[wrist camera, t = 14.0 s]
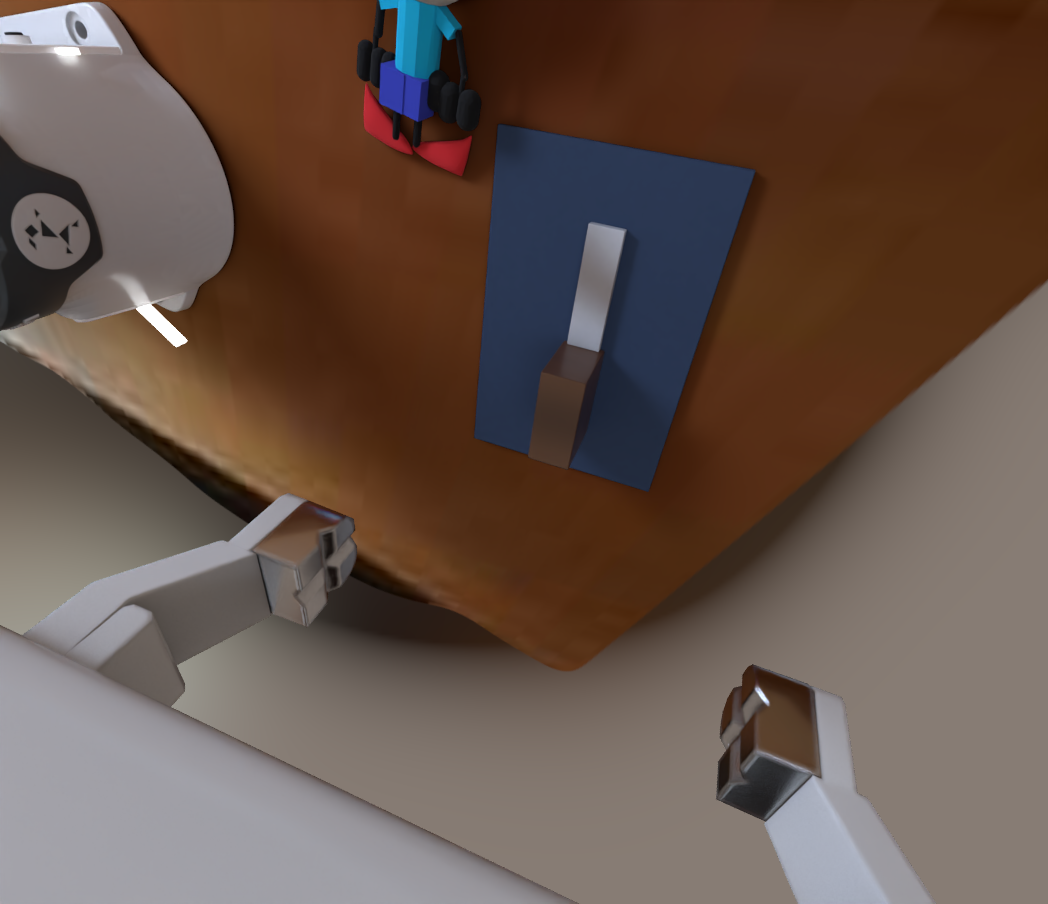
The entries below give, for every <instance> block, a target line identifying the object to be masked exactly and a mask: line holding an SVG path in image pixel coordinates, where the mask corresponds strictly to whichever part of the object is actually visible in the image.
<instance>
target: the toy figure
mask: <svg viewBox="0 0 1048 904" xmlns="http://www.w3.org/2000/svg"><path fill="white" fill-rule="evenodd" d="M456 1H458V0H377V7H376V18H375V27H374V33H373V44H372V43H371V42H370V41H368V40H362V41H361V42H360V43H359V45H358V55H357V74H358V76H359V78H360V79H362V80H363V81H371V83H372V84H373V85H374V86H375V87H377V88H380V97H379V102H378V101H377V99H376V98H375V97H374V95H373V94H372V92H371V90H370V88H369V86H368V84H367V83H366V87H365V98H364V126H365V130H366V131H367V132H368V133H370V134H371V135H372V136H374V137H375V138H377V139H378V140H380V141H382V142H383V143H385V144H387V145H388V146H390V147H391V148H393V149H396V150H398V151H400V152H403V153H406V154H413V151H412V149H413V150H414V151H415V152H416V153H418V154H419V155H420V156H422V157H423V158H424V159H426V160H428V161H429V162H431V163H432V164H434V165H436V166H438V167H441V168H443V169H445V170H447V171H449V172H452V173H454V174H457V175H460V176H462V175H463V172H464V169H465V166H466V163H467V159H468V155H469V151H470V145H471V140H472V135H471V136H469V137H467V138H465V139H462V140H454V141H430V142H420V140H421V129H422V120H424V119H426V118H429V117H432V116H433V114H434V112H438V113H439V116H440V118H441V119H442V120H443V121H444V122H446V123H454V122H456V121H457V124H458V125H459V127H460V128H461V129H463V130H465V131H472V130H473V129H475V128H476V127H477V125H478V122H479V116H480V109H481V99H480V96H479V95H478V93H477V92H475V91H473V90H471V89H468V90H465V91H464V89H465V82H466V81H467V80H468V72H467V65H466V58H465V51H464V44H463V37H462V32H461V31H460V30H461V28H462V27H461V25H460V24H459V23H458V21H457V20H456V19H455V17H454V16H453V14H452V13H451V12H450V10H449V9H448V8H447V6H446V5H449V4H451V3H453V2H456ZM390 8H398V19H397V38H396V55H395V54H394V53H392V52H386V51H385V50H384V49H383V48H379V47H378V40H379V38H381V37H382V35H383V25H384V15H385V9H390ZM443 34H444V35H445V37H446V38H447V39H448V40H452V39H455V38H456V44H457V51H458V58H459V64H460V71H461V78H460V85H459V86H458V85H457V84H456V83H454V82H450V80H449V77H448V76H447V75H446V73H445V72H443V71H441V70H439V65H440V56H441V47H442V38H443ZM379 103H380V104H382V105H384V106H386V107H388V108H390V109H392V110H394V112H393V121H392V120H391V118H390V117H389V116H388V114H387V113H386V112H385V110H384V109H383V108H382V106H381V105H380V104H379ZM401 114H403V115H405V116H407V117H409V118H411V119H413V120H414V132H413V146H412V148H411V146H410V144H409V142H408V141H407V139H406V138H405V136H404V135H403V134H402V133H401V131H400V118H401Z"/></svg>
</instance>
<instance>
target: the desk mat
mask: <svg viewBox="0 0 1048 904" xmlns="http://www.w3.org/2000/svg"><path fill="white" fill-rule="evenodd" d="M754 174H755V170H753V169H748V168H742V167H737V166H731V165H726V164H720V163H715V162H709V161H704V160H698V159H693V158H687V157H682V156H676V155H671V154H665V153H660V152H654V151H649V150H643V149H638V148H632V147H627V146H621V145H616V144H610V143H605V142H599V141H594V140H588V139H583V138H577V137H571V136H566V135H560V134H555V133H549V132H544V131H538V130H533V129H527V128H522V127H516V126H511V125H505V124H498V131H497V144H496V157H495V170H494V183H493V197H492V210H491V223H490V236H489V250H488V263H487V276H486V289H485V303H484V316H483V329H482V342H481V355H480V369H479V382H478V395H477V408H476V422H475V435H474V438H476V439H480V440H483V441H486V442H489V443H493V444H496V445H499V446H502V447H505V448H509V449H512V450H515V451H518V452H522V453H525V454H529V447H530V441H531V434H532V428H533V421H534V415H535V408H536V402H537V395H538V389H539V383H540V376H541V372H542V370H543V369H544V368H545V366H546V365H547V364H548V362H549V361H550V359H551V358H552V357H553V355H554V354H555V353H556V351H557V350H558V349H559V347H560V346H561V344H562V343H563V342H564V341H568V335H569V329H570V324H571V318H572V313H573V307H574V302H575V296H576V291H577V285H578V280H579V274H580V268H581V263H582V257H583V252H584V246H585V241H586V235H587V230H588V224H589V223H590V222H595V223H600V224H604V225H609V226H613V227H618V228H623V229H626V230H627V231H626V236H625V240H624V245H623V249H622V254H621V258H620V263H619V267H618V272H617V276H616V281H615V285H614V290H613V295H612V299H611V304H610V308H609V313H608V317H607V322H606V326H605V331H604V335H603V340H602V344H601V349H600V350H603V351H605V353H604V358H603V362H602V367H601V371H600V375H599V380H598V384H597V388H596V393H595V397H594V402H593V406H592V410H591V415H590V419H589V424H588V428H587V432H586V434H585V436H584V438H583V440H582V442H581V444H580V446H579V448H578V450H577V453H576V455H575V457H574V459H573V461H572V463H571V465H570V468H573V469H576V470H580V471H583V472H586V473H589V474H593V475H596V476H599V477H602V478H605V479H609V480H612V481H615V482H618V483H622V484H625V485H628V486H631V487H634V488H638V489H641V490H644V491H647V492H648V491H649V489H650V486H651V483H652V480H653V477H654V474H655V471H656V468H657V465H658V462H659V459H660V456H661V453H662V450H663V447H664V444H665V441H666V438H667V435H668V432H669V429H670V426H671V423H672V420H673V417H674V414H675V411H676V408H677V405H678V402H679V399H680V396H681V393H682V390H683V387H684V384H685V381H686V378H687V375H688V372H689V369H690V366H691V363H692V360H693V357H694V354H695V351H696V348H697V345H698V342H699V339H700V336H701V333H702V330H703V327H704V324H705V321H706V318H707V315H708V312H709V309H710V306H711V303H712V300H713V297H714V294H715V291H716V288H717V285H718V282H719V279H720V276H721V273H722V270H723V267H724V264H725V261H726V258H727V255H728V252H729V249H730V246H731V243H732V240H733V237H734V234H735V231H736V228H737V225H738V222H739V219H740V216H741V213H742V210H743V207H744V204H745V201H746V198H747V195H748V192H749V189H750V186H751V183H752V180H753V177H754Z"/></svg>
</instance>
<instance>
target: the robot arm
mask: <svg viewBox="0 0 1048 904" xmlns="http://www.w3.org/2000/svg"><path fill="white" fill-rule="evenodd" d="M233 234H234V215H233V206H232V200H231V195H230V191H229V187H228V183H227V180H226V177H225V174H224V171H223V168H222V165H221V163H220V160H219V158H218V156H217V153H216V151H215V149H214V147H213V145H212V143H211V141H210V139H209V137H208V135H207V134H206V132H205V130H204V128H203V127H202V125H201V124H200V122H199V120H198V119H197V117H196V116H195V114H194V113H193V112H192V110H191V109H190V108H189V106H188V105H187V104H186V102H185V101H184V100H183V99H182V97H181V96H180V95H179V94H178V93H177V92H176V91H175V90H174V88H173V87H172V86H171V85H170V84H169V83H168V82H167V81H166V80H165V79H164V78H162V77H161V76H160V75H159V74H158V73H157V72H156V71H155V70H154V69H153V68H152V67H151V66H150V65H149V64H148V62H147V61H146V60H145V59H144V58H143V57H142V55H141V54H140V52H139V50H138V49H137V47H136V45H135V44H134V42H133V41H132V39H131V37H130V36H129V34H128V32H127V31H126V29H125V28H124V26H123V25H122V23H121V22H120V20H119V19H118V18H117V16H116V15H115V14H114V13H113V11H112V10H111V9H110V8H109V7H108V6H106V5H105V4H103V3H100V2H83V3H76V4H71V5H65V6H60V7H55V8H49V9H44V10H38V11H33V12H27V13H22V14H16V15H11V16H6V17H0V331H1V330H8V329H15V328H18V327H21V326H24V325H27V324H29V323H32V322H34V321H35V320H36V319H39V318H42V317H45V316H48V315H51V314H53V313H57V314H59V315H61V316H63V317H66V318H70V319H73V320H74V321H76V322H89V321H94V320H97V319H101V318H104V317H108V316H111V315H115V314H118V313H122V312H125V311H129V310H132V309H137V310H138V311H139V312H140V313H141V314H142V315H143V316H144V317H145V318H146V319H147V320H148V321H149V322H150V323H151V324H152V325H153V326H155V327H156V328H157V329H158V330H159V331H160V332H161V333H162V334H163V335H164V336H165V337H166V338H167V339H168V340H169V341H170V342H171V343H172V344H173V345H174V346H175V347H178V346H180V345H182V344H184V343H186V342H187V339H186V338H184V337H183V336H182V335H181V334H180V333H179V332H178V331H177V330H176V329H175V328H174V327H173V326H172V325H171V324H170V323H169V322H168V321H167V320H166V319H165V318H164V317H163V316H162V315H161V314H160V313H159V312H158V311H157V310H156V309H155V308H154V307H153V306H152V305H151V304H153V303H156V304H158V305H160V306H162V307H164V308H166V309H168V310H170V311H173V312H178V311H182V310H185V309H188V308H190V307H191V305H192V304H193V302H194V299H195V297H196V294H197V291H198V288H199V287H200V286H201V285H202V284H203V283H204V282H206V281H207V280H209V279H210V278H212V277H214V276H215V275H216V274H217V273H218V272H219V271H220V270H221V269H222V267H223V266H224V264H225V263H226V261H227V259H228V257H229V254H230V251H231V247H232V242H233ZM354 531H355V525H354V519H353V518H351V517H348V516H346V515H343V514H341V513H338V512H336V511H333V510H331V509H328V508H326V507H323V506H321V505H318V504H316V503H314V502H311V501H308V500H306V499H303V498H301V497H298V496H295V495H293V494H290V493H288V494H285V495H282V496H280V497H279V498H278V499H277V500H276V501H274V502H273V503H272V504H271V505H270V506H269V507H268V508H266V509H265V510H264V511H263V512H262V513H261V514H260V515H259V516H257V517H256V518H255V519H254V520H253V521H252V522H251V523H249V524H248V525H247V526H246V527H245V528H244V529H243V530H242V531H240V532H239V533H238V534H237V535H236V536H235V537H233V538H232V539H231V540H230V541H229V542H226V541H223V540H221V541H218V542H215V543H211V544H209V545H205V546H202V547H199V548H196V549H193V550H190V551H187V552H184V553H181V554H178V555H175V556H171V557H168V558H165V559H162V560H159V561H156V562H153V563H150V564H147V565H144V566H141V567H138V568H135V569H131V570H128V571H126V572H122V573H119V574H116V575H113V576H110V577H107V578H104V579H101V580H98V581H95V582H92V583H90V584H89V585H88V586H86V587H85V588H84V589H82V590H81V591H80V592H78V593H77V594H76V595H74V596H73V597H72V598H70V599H69V600H68V601H67V602H65V603H64V604H63V605H61V606H60V607H59V608H57V609H56V610H55V611H53V612H52V613H51V614H50V615H48V616H47V617H46V618H44V619H43V620H42V621H40V622H39V623H38V624H37V625H35V626H34V627H32V628H31V629H30V630H28V631H27V632H26V633H24V635H20V634H18V633H16V632H13V631H12V630H9V629H7V628H5V627H3V626H1V625H0V904H579V903H577V902H574V901H573V900H570V899H568V898H566V897H564V896H562V895H560V894H558V893H556V892H554V891H551V890H550V889H548V888H546V887H543V886H541V885H539V884H537V883H535V882H533V881H531V880H529V879H527V878H525V877H523V876H521V875H519V874H516V873H514V872H512V871H510V870H508V869H506V868H504V867H502V866H500V865H498V864H495V863H494V862H492V861H489V860H487V859H485V858H483V857H481V856H479V855H477V854H475V853H472V852H471V851H469V850H466V849H464V848H462V847H460V846H458V845H456V844H454V843H452V842H450V841H448V840H446V839H444V838H442V837H440V836H438V835H435V834H433V833H431V832H429V831H427V830H425V829H423V828H421V827H419V826H417V825H415V824H413V823H411V822H408V821H406V820H404V819H402V818H400V817H398V816H396V815H394V814H392V813H390V812H388V811H386V810H383V809H381V808H379V807H377V806H375V805H373V804H371V803H369V802H367V801H365V800H363V799H361V798H359V797H356V796H354V795H352V794H350V793H348V792H346V791H344V790H342V789H340V788H338V787H336V786H334V785H331V784H330V783H327V782H325V781H323V780H321V779H319V778H317V777H315V776H313V775H311V774H308V773H307V772H305V771H303V770H300V769H298V768H296V767H294V766H292V765H290V764H288V763H286V762H284V761H282V760H280V759H278V758H275V757H273V756H271V755H269V754H267V753H265V752H263V751H261V750H259V749H257V748H255V747H253V746H251V745H248V744H246V743H244V742H242V741H240V740H238V739H236V738H234V737H232V736H230V735H228V734H226V733H224V732H221V731H219V730H217V729H215V728H213V727H211V726H209V725H207V724H205V723H203V722H201V721H199V720H196V719H194V718H192V717H190V716H188V715H186V714H184V713H182V712H180V711H178V710H176V709H174V708H171V706H172V705H173V704H174V703H175V702H176V701H177V699H178V698H179V697H180V696H181V695H182V694H183V693H184V692H185V683H184V680H183V678H182V676H181V674H180V672H179V670H178V667H177V665H178V664H180V663H182V662H184V661H186V660H187V659H189V658H191V657H193V656H195V655H197V654H199V653H201V652H203V651H205V650H207V649H208V648H210V647H212V646H214V645H216V644H218V643H220V642H222V641H223V640H226V639H227V638H230V637H231V636H233V635H235V634H237V633H239V632H241V631H243V630H245V629H247V628H249V627H251V626H252V625H254V624H256V623H258V622H260V621H262V620H264V619H266V618H268V617H270V616H271V613H272V614H275V615H277V616H280V617H282V618H285V619H288V620H290V621H293V622H295V623H298V624H301V625H303V626H306V627H308V626H309V625H310V623H311V622H312V621H313V620H314V619H315V617H316V616H317V615H318V614H319V612H320V611H321V610H322V609H323V608H324V606H325V605H326V604H327V603H328V591H331V590H334V589H336V588H338V587H341V586H342V584H343V583H344V582H345V580H346V579H347V578H348V577H349V575H350V573H351V571H352V569H353V567H354V565H355V561H356V556H357V545H356V544H355V542H354V541H353V539H352V538H351V537H350V536H351V534H352V533H353V532H354ZM720 739H721V741H722V743H723V745H724V747H725V749H726V752H725V753H724V754H723V756H722V757H721V759H720V760H719V761H718V774H717V794H716V799H717V800H719V801H721V802H723V803H726V804H728V805H730V806H732V807H734V808H737V809H739V810H741V811H743V812H746V813H748V814H750V815H752V816H754V817H757V818H759V819H761V820H764V821H766V823H765V827H766V829H767V831H768V834H769V836H770V838H771V841H772V843H773V846H774V848H775V851H776V853H777V855H778V857H779V860H780V863H781V865H782V867H783V870H784V872H785V875H786V877H787V879H788V882H789V884H790V886H791V889H792V891H793V894H794V896H795V899H796V901H797V903H798V904H936V902H935V901H934V899H933V898H932V897H931V895H930V893H929V892H928V890H927V889H926V887H925V885H924V884H923V883H922V881H921V879H920V878H919V876H918V875H917V873H916V872H915V870H914V869H913V867H912V865H911V864H910V862H909V861H908V859H907V858H906V857H905V855H904V853H903V852H902V850H901V849H900V847H899V846H898V844H897V842H896V841H895V839H894V838H893V836H892V835H891V833H890V832H889V830H888V829H887V827H886V826H885V824H884V823H883V821H882V819H881V818H880V816H879V815H878V813H877V812H876V810H875V809H874V807H873V806H872V804H871V802H870V801H869V799H868V798H867V797H865V796H863V795H860V794H858V792H857V785H856V778H855V770H854V763H853V756H852V749H851V742H850V735H849V728H848V721H847V714H846V706H845V703H844V701H843V699H842V697H840V696H837V695H835V694H832V693H829V692H826V691H823V690H821V689H818V688H815V687H813V686H809V685H808V684H807V683H804V682H801V681H798V680H795V679H792V678H789V677H787V676H784V675H781V674H778V673H775V672H773V671H770V670H767V669H764V668H761V667H759V666H756V665H753V664H752V665H751V666H749V667H748V668H747V669H746V670H745V672H744V674H743V677H742V686H740V687H736V688H733V690H732V692H731V693H730V695H729V697H728V698H727V702H726V704H725V707H724V711H723V714H722V720H721V727H720Z"/></svg>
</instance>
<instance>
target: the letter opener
mask: <svg viewBox="0 0 1048 904" xmlns="http://www.w3.org/2000/svg"><path fill="white" fill-rule="evenodd" d="M626 231H627V230H626V229H623V228H618V227H613V226H609V225H604V224H600V223H595V222H590V223H589V224H588V230H587V235H586V241H585V246H584V252H583V257H582V263H581V268H580V274H579V280H578V285H577V291H576V296H575V302H574V307H573V313H572V318H571V324H570V329H569V335H568V341H564V342H563V343H562V344H561V346H560V347H559V349H558V350H557V351H556V353H555V354H554V355H553V357H552V358H551V359H550V361H549V362H548V364H547V365H546V366H545V368H544V369H543V370H542V372H541V376H540V383H539V389H538V395H537V402H536V408H535V415H534V421H533V428H532V434H531V441H530V447H529V454H528V458H531V459H534V460H537V461H540V462H544V463H547V464H550V465H553V466H556V467H560V468H563V469H566V470H568V469H569V467H570V465H571V463H572V461H573V459H574V457H575V455H576V453H577V450H578V448H579V446H580V444H581V442H582V440H583V438H584V436H585V434H586V432H587V428H588V424H589V419H590V415H591V410H592V406H593V402H594V397H595V393H596V388H597V384H598V380H599V375H600V371H601V367H602V362H603V358H604V353H605V351H603V350H600V349H601V344H602V340H603V335H604V331H605V326H606V322H607V317H608V313H609V308H610V304H611V299H612V295H613V290H614V285H615V281H616V276H617V272H618V267H619V263H620V258H621V254H622V249H623V245H624V240H625V236H626Z"/></svg>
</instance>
